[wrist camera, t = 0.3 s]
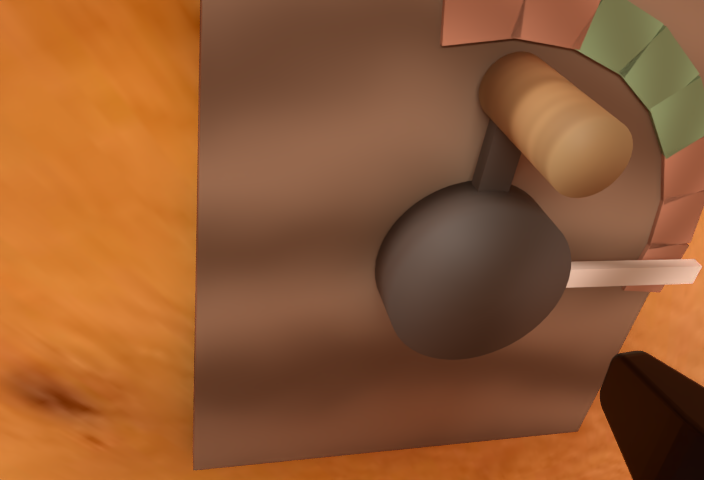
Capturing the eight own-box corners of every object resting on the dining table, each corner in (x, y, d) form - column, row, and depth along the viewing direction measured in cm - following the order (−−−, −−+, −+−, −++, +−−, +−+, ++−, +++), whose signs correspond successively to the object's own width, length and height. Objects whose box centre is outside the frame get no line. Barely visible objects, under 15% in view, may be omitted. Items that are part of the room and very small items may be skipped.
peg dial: (361, 329, 26) (396, 428, 22) (421, 43, 20) (484, 113, 16) (643, 315, 30) (715, 399, 26) (772, 70, 23) (894, 132, 19)
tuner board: (577, 415, 36) (588, 433, 35) (192, 452, 30) (193, 474, 29) (813, -49, 22) (841, -41, 22) (202, -135, 17) (205, -129, 16)
